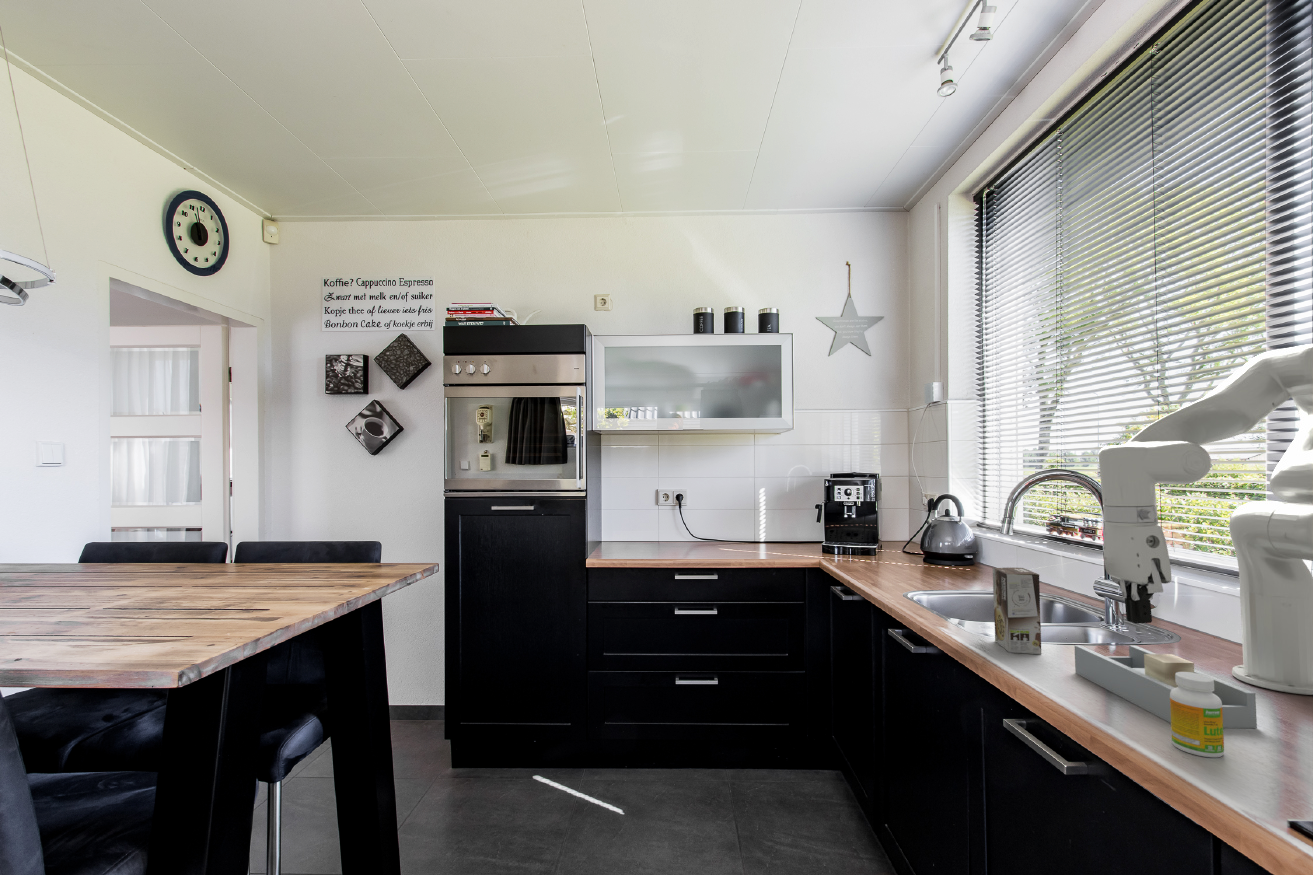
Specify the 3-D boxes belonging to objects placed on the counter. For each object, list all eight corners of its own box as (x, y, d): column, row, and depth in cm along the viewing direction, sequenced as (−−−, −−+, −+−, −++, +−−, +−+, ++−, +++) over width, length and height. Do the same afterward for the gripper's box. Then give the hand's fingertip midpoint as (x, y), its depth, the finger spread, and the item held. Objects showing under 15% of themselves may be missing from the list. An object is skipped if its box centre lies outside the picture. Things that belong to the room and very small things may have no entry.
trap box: (1136, 672, 115) (1135, 645, 115) (1257, 727, 91) (1255, 693, 91) (1075, 672, 116) (1074, 645, 116) (1179, 727, 92) (1177, 692, 92)
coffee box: (1043, 654, 126) (1040, 574, 127) (1008, 653, 128) (1005, 573, 128) (1026, 642, 135) (1023, 566, 136) (993, 640, 137) (991, 566, 137)
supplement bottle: (1210, 761, 81) (1207, 685, 82) (1162, 744, 86) (1160, 672, 86) (1233, 753, 83) (1229, 679, 84) (1185, 737, 88) (1182, 667, 89)
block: (1173, 681, 102) (1171, 654, 102) (1195, 691, 98) (1193, 662, 98) (1145, 681, 102) (1144, 654, 102) (1165, 691, 98) (1164, 662, 98)
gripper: (1186, 518, 102) (1197, 632, 101) (1121, 510, 116) (1130, 610, 116) (1139, 520, 102) (1149, 634, 101) (1080, 513, 117) (1088, 612, 116)
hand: (1139, 621), depth 108 cm, fingers closed
